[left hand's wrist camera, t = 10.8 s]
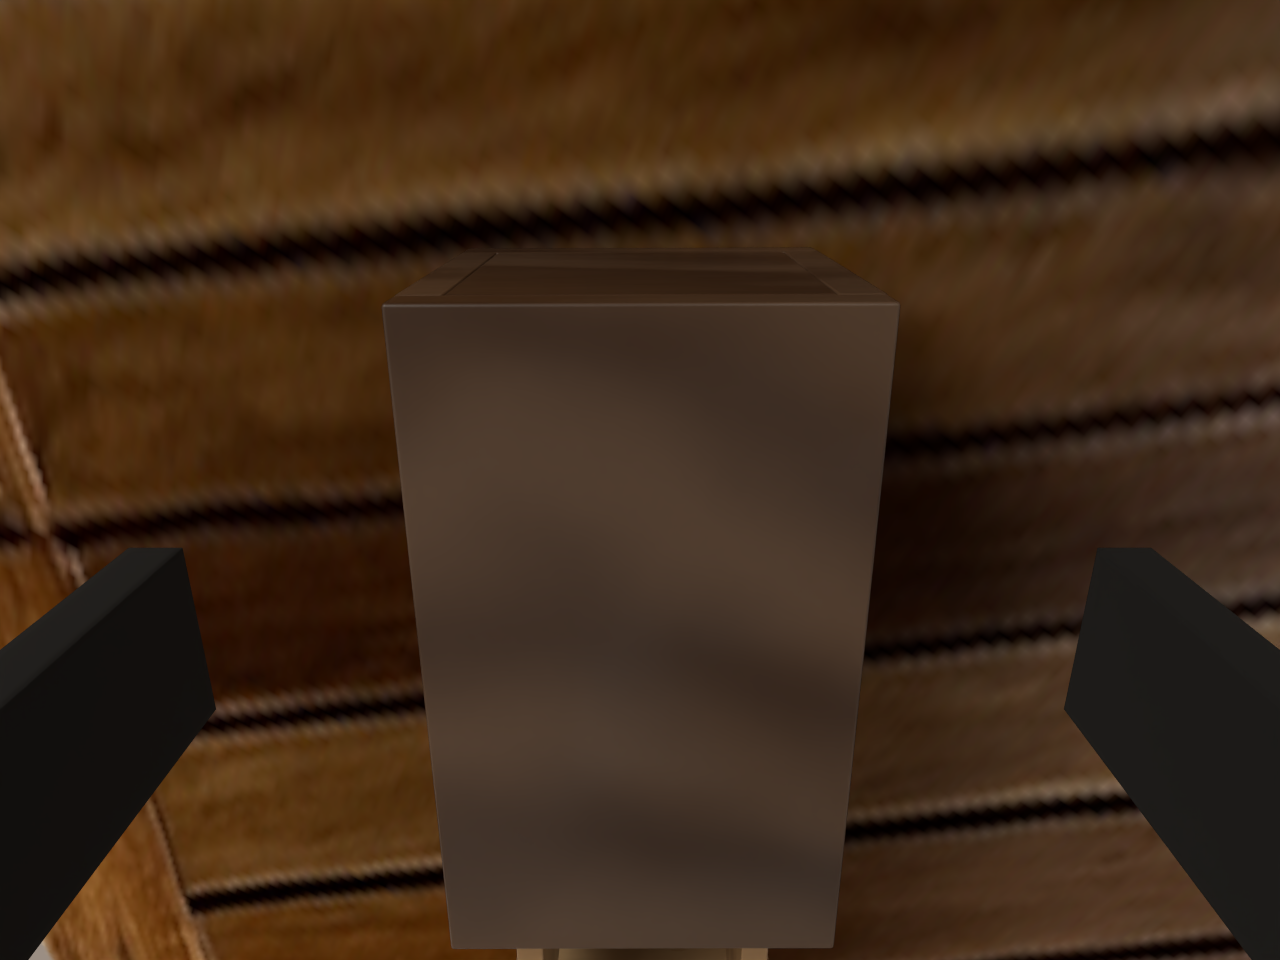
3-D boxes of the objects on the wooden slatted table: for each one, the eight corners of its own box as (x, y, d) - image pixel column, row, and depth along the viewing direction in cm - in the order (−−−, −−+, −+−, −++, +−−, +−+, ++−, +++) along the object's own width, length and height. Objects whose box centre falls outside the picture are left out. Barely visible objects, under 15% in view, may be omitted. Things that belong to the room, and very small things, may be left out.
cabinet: (780, 728, 33) (834, 949, 24) (502, 728, 33) (450, 950, 24) (813, 247, 27) (902, 301, 18) (468, 248, 27) (380, 303, 18)
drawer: (751, 1028, 38) (777, 1238, 30) (533, 1028, 38) (508, 1238, 30) (780, 557, 30) (825, 692, 22) (502, 558, 30) (457, 693, 22)
